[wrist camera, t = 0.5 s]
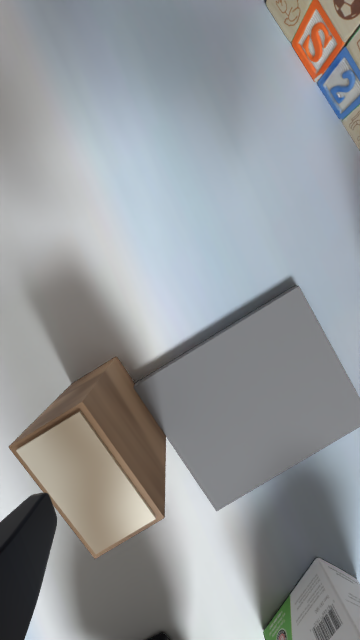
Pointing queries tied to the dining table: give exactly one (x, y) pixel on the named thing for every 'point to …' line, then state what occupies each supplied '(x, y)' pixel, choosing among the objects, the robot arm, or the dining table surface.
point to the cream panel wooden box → (99, 458)
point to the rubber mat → (253, 399)
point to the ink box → (319, 607)
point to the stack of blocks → (327, 50)
